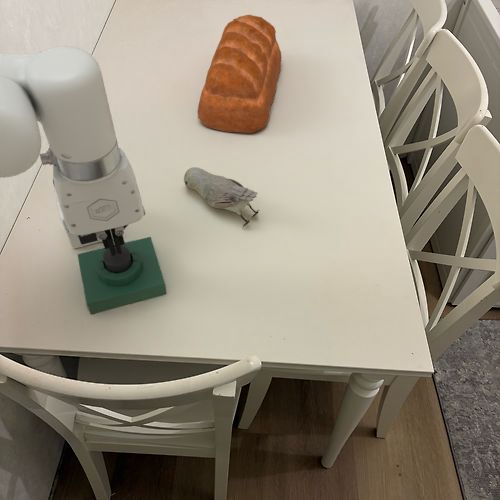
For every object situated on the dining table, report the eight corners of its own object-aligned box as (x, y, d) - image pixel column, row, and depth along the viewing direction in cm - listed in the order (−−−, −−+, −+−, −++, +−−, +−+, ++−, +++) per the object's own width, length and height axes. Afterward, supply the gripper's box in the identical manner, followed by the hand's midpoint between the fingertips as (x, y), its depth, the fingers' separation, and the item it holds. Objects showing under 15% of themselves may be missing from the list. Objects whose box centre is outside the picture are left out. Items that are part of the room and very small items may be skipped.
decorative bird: (195, 178, 94) (193, 148, 88) (263, 216, 89) (266, 187, 83) (177, 194, 92) (174, 164, 86) (246, 234, 86) (248, 205, 80)
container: (117, 238, 84) (103, 184, 74) (72, 250, 82) (51, 196, 72) (108, 207, 89) (93, 152, 78) (65, 218, 87) (44, 163, 77)
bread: (283, 59, 122) (289, 7, 112) (264, 138, 103) (269, 83, 92) (222, 51, 123) (222, -2, 113) (193, 128, 104) (189, 72, 93)
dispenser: (90, 314, 75) (83, 297, 71) (81, 264, 81) (74, 246, 77) (166, 294, 78) (163, 276, 74) (152, 247, 84) (149, 228, 80)
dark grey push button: (107, 276, 74) (105, 268, 72) (103, 256, 76) (101, 248, 75) (134, 269, 75) (132, 261, 73) (128, 250, 77) (126, 242, 76)
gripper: (24, 188, 54) (67, 280, 69) (155, 161, 58) (170, 254, 72) (20, 146, 59) (61, 241, 73) (142, 123, 62) (158, 218, 77)
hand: (115, 247), depth 73 cm, fingers closed
